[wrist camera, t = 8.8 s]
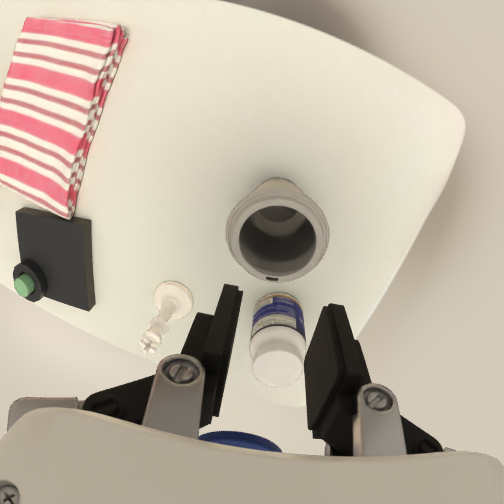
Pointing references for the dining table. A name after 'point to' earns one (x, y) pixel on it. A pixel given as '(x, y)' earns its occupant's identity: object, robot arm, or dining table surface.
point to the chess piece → (166, 312)
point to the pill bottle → (277, 340)
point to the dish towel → (55, 106)
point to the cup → (277, 232)
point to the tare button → (24, 285)
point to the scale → (56, 257)
